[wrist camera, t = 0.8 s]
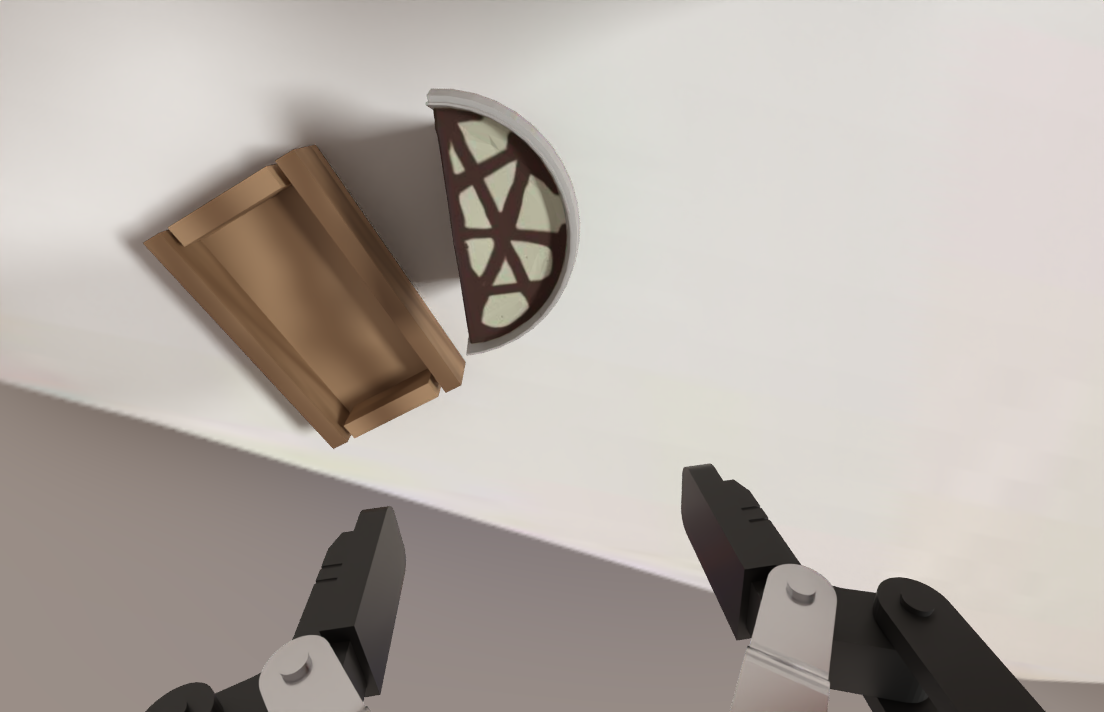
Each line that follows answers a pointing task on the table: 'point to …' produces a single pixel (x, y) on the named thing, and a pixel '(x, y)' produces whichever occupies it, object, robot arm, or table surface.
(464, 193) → the food container
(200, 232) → the holder
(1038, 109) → the table surface
